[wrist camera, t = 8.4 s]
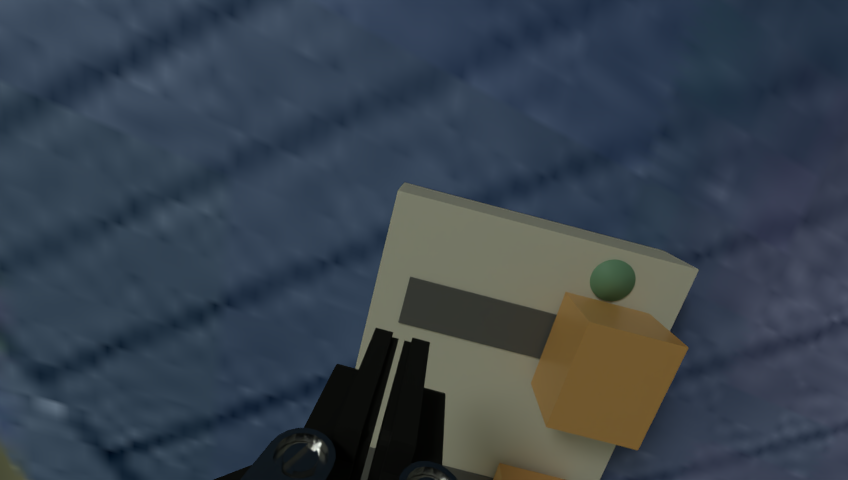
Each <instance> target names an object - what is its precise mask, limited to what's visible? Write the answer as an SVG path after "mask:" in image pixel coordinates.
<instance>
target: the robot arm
mask: <svg viewBox="0 0 848 480" xmlns="http://www.w3.org/2000/svg"><path fill="white" fill-rule="evenodd" d="M392 336H393V332H391V331H387V330H383V329H380V328H375V331H374V333H373V336H372V338H371V340H370V343H369V345H368V348H367V350H366V353H365V355H364V358H363V360H362V362H361V365H360V367H359V370H358V369H355V368H351V367H347V366H344V365H340V364H337V365H336V366H335V368H334V370H333V372H332V374H331V376H330V378H329V380H328V382H327V384H326V386H325V388H324V390H323V392H322V394H321V396H320V397H319V399H318V401H317V403H316V405H315V407H314V409H313V411H312V413H311V415H310V417H309V419H308V421H307V423H306V425H305V427H304V428H296V429H291V430H287V431H285V432H283V433H281V434H279V435H278V436H277V437H276V438H275V439H274V440H273V441H271V443H270V444H269V445H268V446H267V448H266V449H265V450H264V451H263V452H262V454H261V455H260V456H259V457H258V458H257V460H256V461H255V462H254V463H253V465H251V466H248V467H245V468H243V469H240V470H238V471H235V472H232V473H230V474H227V475H225V476H222V477H219V478H217V479H214V480H361V476H362V473H363V469H364V466H365V462H366V458H367V455H368V451H369V447H370V444H371V440H372V437H373V433H374V429H375V426H376V422H377V418H378V415H379V411H380V407H381V404H382V400H383V396H384V392H385V389H386V385H387V381H388V377H389V374H390V370H391V366H392V363H393V359H394V355H395V351H396V348H397V344H398V340H399V339H398V338H394V337H392ZM429 346H430V342H428V341H424V340H420V339H417V338H412V341H411V342H409V341H405V340H404V344H403V347H402V351H401V355H400V358H399V362H398V366H397V369H396V373H395V377H394V380H393V384H392V388H391V391H390V395H389V399H388V402H387V406H386V410H385V413H384V417H383V421H382V425H381V429H380V432H379V436H378V440H377V444H376V448H375V452H374V456H373V460H372V463H371V467H370V471H369V475H368V479H367V480H457V478H456V477H455V476H454V475H453V474H452V473H451V472H450V471H449V470H448V469H447V468H445V467H443V466H442V460H443V440H444V419H445V399H446V397H445V393H443V392H439V391H435V390H432V389H428V388H424V384H425V377H426V369H427V361H428V354H429Z"/></svg>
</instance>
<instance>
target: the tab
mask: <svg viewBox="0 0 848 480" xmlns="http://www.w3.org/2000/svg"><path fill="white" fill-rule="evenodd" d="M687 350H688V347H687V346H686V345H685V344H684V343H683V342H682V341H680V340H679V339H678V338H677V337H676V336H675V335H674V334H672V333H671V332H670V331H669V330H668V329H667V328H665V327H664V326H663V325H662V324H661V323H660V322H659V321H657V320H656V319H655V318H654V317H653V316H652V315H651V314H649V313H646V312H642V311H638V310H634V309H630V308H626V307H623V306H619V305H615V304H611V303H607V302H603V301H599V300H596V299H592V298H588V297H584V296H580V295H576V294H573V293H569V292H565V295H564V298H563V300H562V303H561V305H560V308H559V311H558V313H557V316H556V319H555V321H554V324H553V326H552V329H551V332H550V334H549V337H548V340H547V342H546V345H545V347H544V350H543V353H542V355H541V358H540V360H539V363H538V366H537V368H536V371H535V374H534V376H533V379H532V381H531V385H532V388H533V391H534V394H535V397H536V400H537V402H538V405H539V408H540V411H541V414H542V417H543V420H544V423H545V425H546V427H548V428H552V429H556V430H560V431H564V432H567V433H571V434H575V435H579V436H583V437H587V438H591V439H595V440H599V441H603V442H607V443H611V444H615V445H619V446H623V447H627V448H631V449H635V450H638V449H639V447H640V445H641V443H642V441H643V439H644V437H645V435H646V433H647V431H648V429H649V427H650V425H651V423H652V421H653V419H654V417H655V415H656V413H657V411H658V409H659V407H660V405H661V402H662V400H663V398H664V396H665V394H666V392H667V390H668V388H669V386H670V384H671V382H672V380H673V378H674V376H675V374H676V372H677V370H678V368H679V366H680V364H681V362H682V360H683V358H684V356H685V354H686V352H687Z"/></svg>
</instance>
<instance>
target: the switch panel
mask: <svg viewBox="0 0 848 480" xmlns="http://www.w3.org/2000/svg"><path fill="white" fill-rule="evenodd" d="M698 271H699V269H697V268H695V267H693V266H691V265H689V264H688V263H686V262H684V261H682V260H680V259H678V258H676V257H674V256H672V255H671V254H669V253H667V252H665V251H663V250H659V249H655V248H651V247H648V246H644V245H640V244H636V243H632V242H629V241H625V240H621V239H617V238H613V237H610V236H606V235H602V234H598V233H594V232H591V231H587V230H583V229H579V228H575V227H572V226H568V225H564V224H560V223H557V222H553V221H549V220H545V219H541V218H538V217H534V216H530V215H526V214H522V213H519V212H515V211H511V210H507V209H503V208H500V207H496V206H492V205H488V204H484V203H481V202H477V201H473V200H469V199H465V198H462V197H458V196H454V195H450V194H446V193H443V192H439V191H435V190H431V189H427V188H424V187H420V186H416V185H412V184H409V183H405V182H404V184H403V185H402V186H401V187H400V189H399V190H398V192H397V196H396V201H395V205H394V209H393V213H392V217H391V222H390V226H389V230H388V234H387V238H386V242H385V247H384V251H383V255H382V259H381V263H380V268H379V272H378V276H377V280H376V284H375V288H374V293H373V297H372V301H371V305H370V309H369V314H368V318H367V322H366V326H365V330H364V334H363V339H362V343H361V347H360V351H359V355H358V359H357V364H356V368H355V369H358V370H359V367H360V365H361V362H362V360H363V358H364V355H365V353H366V350H367V348H368V345H369V343H370V340H371V338H372V336H373V333H374V331H375V328H380V329H383V330H387V331H391V332H393V336H392V337H394V338H398V339H399V340H398V344H397V348H396V351H395V355H394V359H393V363H392V366H391V370H390V374H389V377H388V381H387V385H386V389H385V392H384V396H383V400H382V404H381V407H380V411H379V415H378V418H377V422H376V426H375V429H374V433H373V437H372V440H371V444H370V447H369V451H368V455H367V458H366V462H365V466H364V469H363V473H362V476H361V480H367V479H368V475H369V471H370V467H371V463H372V460H373V456H374V452H375V448H376V444H377V440H378V436H379V432H380V429H381V425H382V421H383V417H384V413H385V410H386V406H387V402H388V399H389V395H390V391H391V388H392V384H393V380H394V377H395V373H396V369H397V366H398V362H399V358H400V355H401V351H402V347H403V344H404V340H405V341H409V342H411V341H412V338H417V339H420V340H424V341H428V342H430V346H429V354H428V361H427V369H426V377H425V384H424V388H428V389H432V390H435V391H439V392H443V393H445V397H446V399H445V419H444V440H443V460H442V466H443V467H445V468H447V469H448V470H449V471H450V472H451V473H452V474H453V475H454V476H455V477H456V478H457V480H493V478H494V476H495V473H496V470H497V468H498V465H499V463H502V464H506V465H510V466H514V467H518V468H522V469H526V470H529V471H533V472H537V473H541V474H545V475H549V476H553V477H557V478H561V479H565V480H600V478H601V476H602V474H603V472H604V470H605V467H606V465H607V463H608V461H609V459H610V457H611V455H612V453H613V450H614V448H615V446H616V445H615V444H611V443H607V442H603V441H599V440H595V439H591V438H587V437H583V436H579V435H575V434H571V433H567V432H564V431H560V430H556V429H552V428H548V427H546V425H545V423H544V420H543V417H542V414H541V411H540V408H539V405H538V402H537V400H536V397H535V394H534V391H533V388H532V385H531V381H532V379H533V376H534V374H535V371H536V368H537V366H538V363H539V360H540V358H541V355H542V353H543V350H544V347H545V345H546V342H547V340H548V337H549V334H550V332H551V329H552V326H553V324H554V321H555V319H556V316H557V313H558V311H559V308H560V305H561V303H562V300H563V298H564V295H565V292H569V293H573V294H576V295H580V296H584V297H588V298H592V299H596V300H599V301H603V302H607V303H611V304H615V305H619V306H623V307H626V308H630V309H634V310H638V311H642V312H646V313H649V314H651V315H652V316H653V317H654V318H655V319H656V320H657V321H659V322H660V323H661V324H662V325H663V326H664V327H665V328H667V329H668V330H669V331H670V330H671V328H672V326H673V324H674V321H675V319H676V317H677V315H678V313H679V311H680V309H681V307H682V304H683V302H684V300H685V298H686V296H687V294H688V292H689V290H690V288H691V285H692V283H693V281H694V279H695V277H696V275H697V273H698Z"/></svg>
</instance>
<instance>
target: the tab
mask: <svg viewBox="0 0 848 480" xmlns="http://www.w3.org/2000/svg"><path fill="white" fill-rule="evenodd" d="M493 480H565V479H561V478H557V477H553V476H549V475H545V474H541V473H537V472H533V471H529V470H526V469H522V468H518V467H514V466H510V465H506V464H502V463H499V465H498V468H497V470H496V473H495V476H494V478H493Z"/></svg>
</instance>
